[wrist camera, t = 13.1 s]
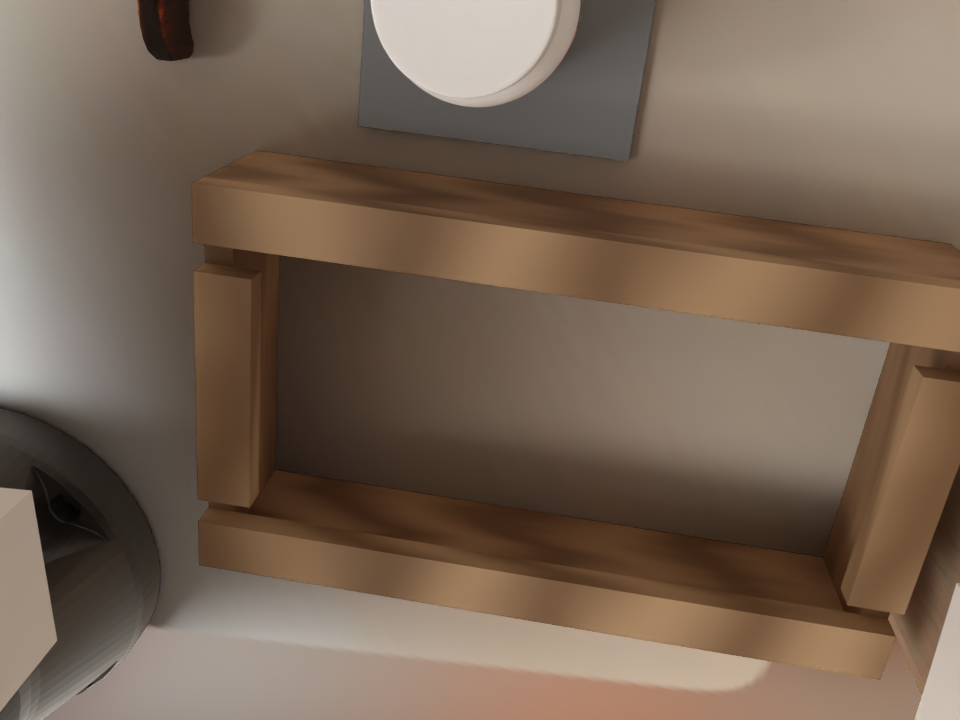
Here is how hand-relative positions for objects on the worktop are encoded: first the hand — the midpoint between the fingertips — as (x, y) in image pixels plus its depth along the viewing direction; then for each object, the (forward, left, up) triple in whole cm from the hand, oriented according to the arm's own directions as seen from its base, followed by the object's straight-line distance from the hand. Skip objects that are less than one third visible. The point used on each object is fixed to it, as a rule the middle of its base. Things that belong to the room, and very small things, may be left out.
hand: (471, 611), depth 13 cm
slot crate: (+1, -6, -23) cm, 24 cm away
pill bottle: (-3, +8, -23) cm, 24 cm away
